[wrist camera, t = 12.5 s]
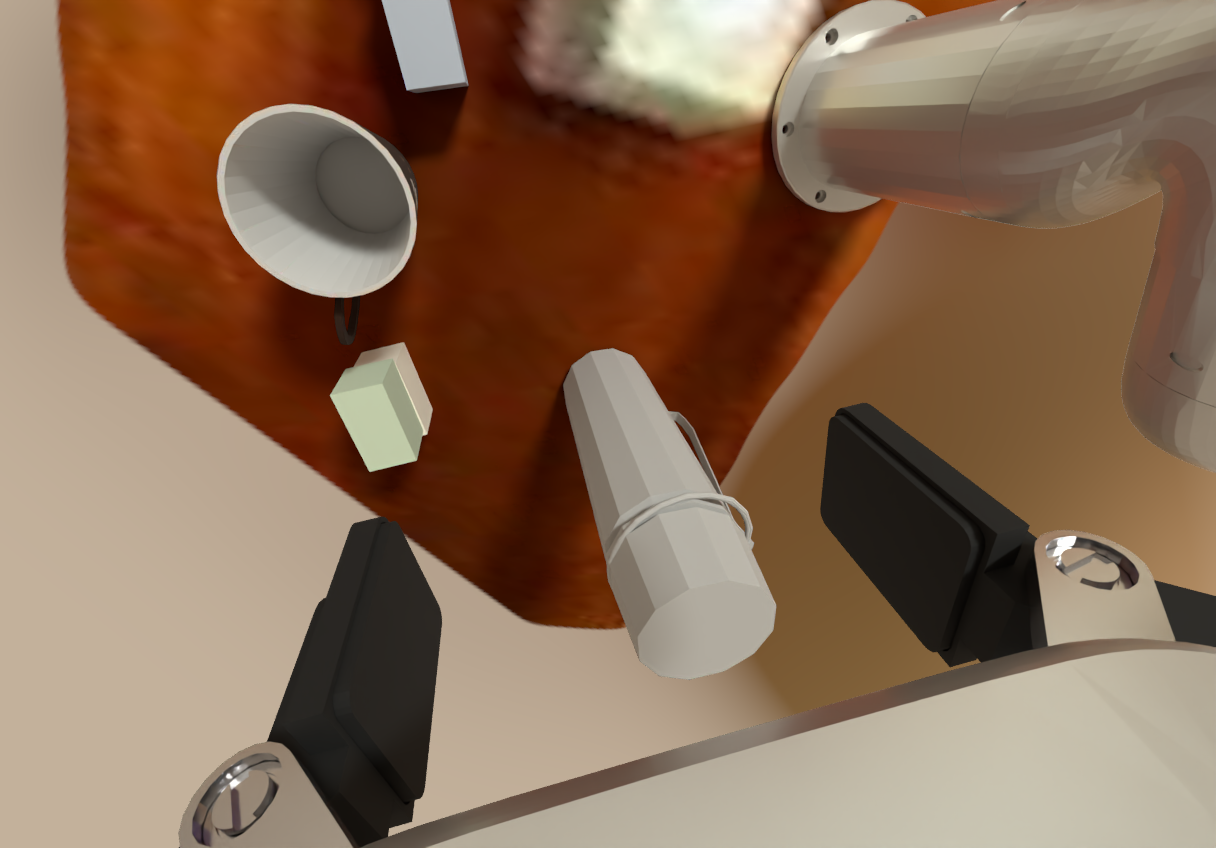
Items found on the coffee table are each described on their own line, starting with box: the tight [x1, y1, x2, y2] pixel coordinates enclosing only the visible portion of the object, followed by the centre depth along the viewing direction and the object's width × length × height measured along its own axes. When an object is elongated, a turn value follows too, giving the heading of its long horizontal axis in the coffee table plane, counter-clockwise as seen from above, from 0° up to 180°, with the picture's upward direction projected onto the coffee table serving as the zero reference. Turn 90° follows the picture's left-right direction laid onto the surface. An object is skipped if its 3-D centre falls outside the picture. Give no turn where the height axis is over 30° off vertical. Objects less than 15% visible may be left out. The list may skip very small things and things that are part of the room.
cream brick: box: [354, 342, 432, 436], centre depth 38 cm, size 6×3×4 cm, turn 10°
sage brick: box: [330, 358, 423, 472], centre depth 35 cm, size 6×3×4 cm, turn 9°
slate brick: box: [382, 0, 468, 93], centre depth 28 cm, size 6×3×4 cm, turn 7°
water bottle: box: [563, 348, 776, 680], centre depth 33 cm, size 9×8×25 cm
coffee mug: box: [217, 104, 418, 345], centre depth 29 cm, size 12×9×10 cm
